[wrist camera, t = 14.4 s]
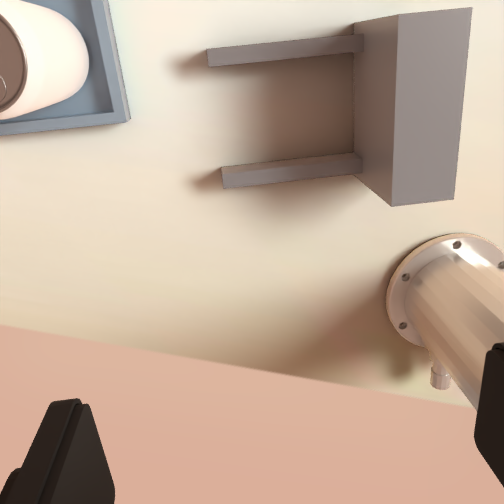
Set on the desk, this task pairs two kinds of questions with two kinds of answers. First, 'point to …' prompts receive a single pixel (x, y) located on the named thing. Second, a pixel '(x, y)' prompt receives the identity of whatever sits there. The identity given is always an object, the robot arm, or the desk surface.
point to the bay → (383, 105)
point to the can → (38, 58)
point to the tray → (96, 84)
